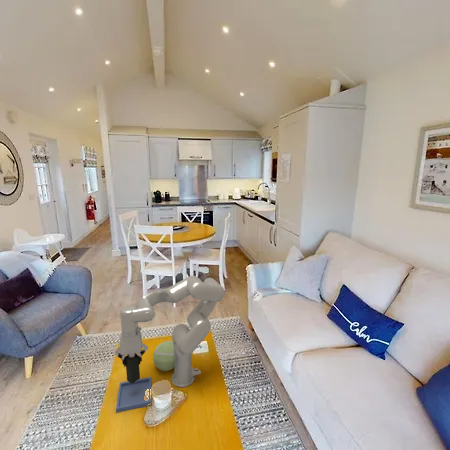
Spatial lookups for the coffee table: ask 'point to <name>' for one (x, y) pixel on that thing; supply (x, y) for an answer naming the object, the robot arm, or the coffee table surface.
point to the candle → (132, 367)
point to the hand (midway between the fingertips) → (132, 363)
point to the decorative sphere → (164, 356)
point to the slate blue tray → (133, 395)
